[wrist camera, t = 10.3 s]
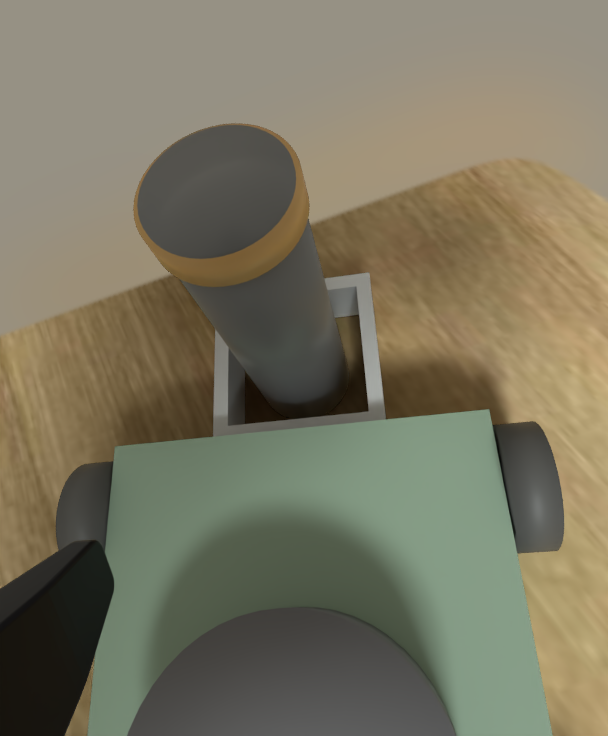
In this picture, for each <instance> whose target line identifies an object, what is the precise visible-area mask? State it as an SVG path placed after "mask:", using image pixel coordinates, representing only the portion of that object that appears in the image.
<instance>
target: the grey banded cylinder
mask: <svg viewBox="0 0 608 736" xmlns="http://www.w3.org/2000/svg"><path fill="white" fill-rule="evenodd" d="M133 210H134V219H135V223H136V227H137V229H138V231H139V234H140V235H141V237H142V238H143V240H144V241H145V242H146V244H147V245H148V247H149V248H150V249H151V251H152V252H153V253H154V255H155V256H156V257H157V259H158V260H159V261H160V262H161V264H162V265H163V266H164V267H165V269H166V270H167V271H168V272H170V273H171V274H173V275H174V276H175V277H177V278H179V279H180V281H181V282H182V283H183V285H184V286H185V288H186V289H187V290H188V292H189V293H190V294H191V296H192V297H193V299H194V300H195V301H196V303H197V304H198V306H199V307H200V308H201V310H202V311H203V313H204V314H205V315H206V317H207V318H208V320H209V321H210V322H211V324H212V325H213V327H214V328H215V329H216V331H217V332H218V333H219V335H220V336H221V338H222V339H223V340H224V342H225V343H226V345H227V346H228V347H229V349H230V350H231V352H232V353H233V354H234V356H235V357H236V359H237V360H238V361H239V363H240V364H241V365H242V367H243V368H244V370H245V371H246V372H247V374H248V375H249V377H250V378H251V379H252V381H253V382H254V384H255V385H256V386H257V388H258V389H259V391H260V392H261V393H262V395H263V396H264V397H265V399H266V400H267V402H268V403H269V404H270V406H271V407H272V408H273V409H274V410H275V411H277V412H278V413H279V414H281V415H283V416H285V417H288V418H291V419H301V418H310V417H320V416H323V415H325V414H326V413H328V412H330V411H331V410H332V409H333V408H335V407H336V406H337V405H338V403H339V402H340V401H341V400H342V398H343V396H344V395H345V392H346V390H347V387H348V382H349V369H348V365H347V362H346V358H345V354H344V350H343V347H342V343H341V339H340V335H339V332H338V328H337V324H336V320H335V317H334V313H333V309H332V305H331V302H330V298H329V294H328V290H327V287H326V283H325V279H324V275H323V272H322V268H321V264H320V261H319V257H318V253H317V249H316V246H315V242H314V238H313V234H312V231H311V227H310V223H309V219H308V216H309V197H308V193H307V189H306V185H305V181H304V177H303V173H302V169H301V166H300V162H299V159H298V157H297V155H296V153H295V151H294V150H293V149H292V147H291V146H290V145H289V144H288V143H287V142H286V141H285V140H284V139H283V138H282V137H280V136H279V135H278V134H276V133H274V132H272V131H270V130H267V129H264V128H262V127H259V126H255V125H249V124H223V125H217V126H212V127H208V128H205V129H202V130H199V131H196V132H194V133H191V134H189V135H188V136H185V137H183V138H182V139H180V140H178V141H177V142H175V143H174V144H172V145H171V146H170V147H168V148H167V149H166V150H164V151H163V152H162V153H161V154H160V155H159V156H158V157H157V158H156V159H155V160H154V161H153V163H152V164H151V165H150V166H149V168H148V169H147V170H146V172H145V173H144V175H143V177H142V179H141V181H140V183H139V185H138V188H137V191H136V195H135V199H134V209H133Z"/></svg>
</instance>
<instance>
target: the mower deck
mask: <svg viewBox="0 0 608 736" xmlns="http://www.w3.org/2000/svg"><path fill="white" fill-rule="evenodd" d="M325 283H326V287H327V290H328V294H329V298H330V302H331V305H332V309H333V313H334V317H335V318H337V317H345V316H353V315H359V318H360V328H361V338H362V348H363V358H364V368H365V378H366V388H367V398H368V408H369V412H359V413H350V414H340V415H330V416H320V417H310V418H301V419H291V420H281V421H271V422H262V423H252V424H245V370H244V368H243V367H242V365H241V364H240V363H239V361H238V360H237V359H236V357H235V356H234V354H233V353H232V352H231V350H230V349H229V347H228V346H227V345H226V343H225V342H224V340H223V339H222V338H221V336H220V335H219V333H218V332H217V331H216V329H215V367H214V415H213V437H205V438H195V439H185V440H175V441H165V442H155V443H145V444H135V445H125V446H115V451H114V461H112V462H102V463H91V464H84V465H82V466H80V467H78V468H77V469H76V470H75V471H74V472H73V473H72V474H71V475H70V476H69V478H68V480H67V481H66V483H65V485H64V487H63V490H62V493H61V495H60V499H59V503H58V508H57V516H56V538H57V545H58V549H59V550H61V549H62V548H64V547H65V546H67V545H68V544H70V543H72V542H74V541H80V540H93V539H95V540H98V541H99V542H100V543H101V544H102V546H103V548H104V551H105V554H106V557H107V560H108V563H109V565H110V568H111V571H112V574H113V577H114V593H113V596H112V600H111V603H110V606H109V610H108V613H107V616H106V619H105V623H104V626H103V629H102V633H101V636H100V639H99V643H98V646H97V649H96V652H95V661H94V672H93V682H92V693H91V703H90V714H89V724H88V735H87V736H553V735H552V730H551V725H550V720H549V715H548V709H547V704H546V699H545V694H544V689H543V684H542V679H541V673H540V668H539V663H538V658H537V653H536V648H535V643H534V637H533V632H532V627H531V622H530V617H529V612H528V606H527V601H526V596H525V591H524V586H523V581H522V576H521V570H520V565H519V560H518V555H517V553H532V552H548V551H557V550H559V548H560V547H561V544H562V541H563V534H564V510H563V499H562V492H561V486H560V481H559V476H558V471H557V467H556V463H555V460H554V457H553V453H552V450H551V447H550V445H549V442H548V440H547V438H546V436H545V434H544V432H543V430H542V429H541V427H540V426H539V425H538V424H537V423H536V422H533V421H532V422H521V423H511V424H500V425H492V421H491V416H490V411H489V409H486V410H476V411H466V412H456V413H446V414H436V415H426V416H416V417H406V418H396V419H386V413H385V404H384V395H383V387H382V378H381V369H380V360H379V351H378V342H377V333H376V325H375V316H374V307H373V298H372V291H371V283H370V275H369V272H368V273H360V274H353V275H346V276H339V277H332V278H325Z"/></svg>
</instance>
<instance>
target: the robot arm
mask: <svg viewBox="0 0 608 736" xmlns="http://www.w3.org/2000/svg"><path fill="white" fill-rule="evenodd" d="M113 593H114V577H113V574H112V571H111V568H110V565H109V563H108V560H107V557H106V554H105V551H104V548H103V546H102V544H101V543H100V542H99V541H98V540H95V539H93V540H80V541H74V542H72V543H70V544H68V545H67V546H65V547H64V548H62V549H61V550H59V551H58V552H56V553H55V554H53V555H52V556H50V557H48V558H47V559H45V560H44V561H42V562H41V563H39V564H38V565H36V566H35V567H33V568H32V569H30V570H28V571H27V572H25V573H24V574H22V575H21V576H19V577H18V578H16V579H15V580H13V581H12V582H10V583H8V584H7V585H5V586H4V587H2V588H1V589H0V736H65V733H66V731H67V728H68V726H69V723H70V721H71V719H72V716H73V714H74V711H75V709H76V706H77V704H78V701H79V699H80V696H81V694H82V691H83V689H84V686H85V683H86V681H87V678H88V675H89V672H90V669H91V666H92V662H93V659H94V656H95V652H96V649H97V646H98V643H99V639H100V636H101V633H102V629H103V626H104V623H105V619H106V616H107V613H108V610H109V606H110V603H111V600H112V596H113Z"/></svg>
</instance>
